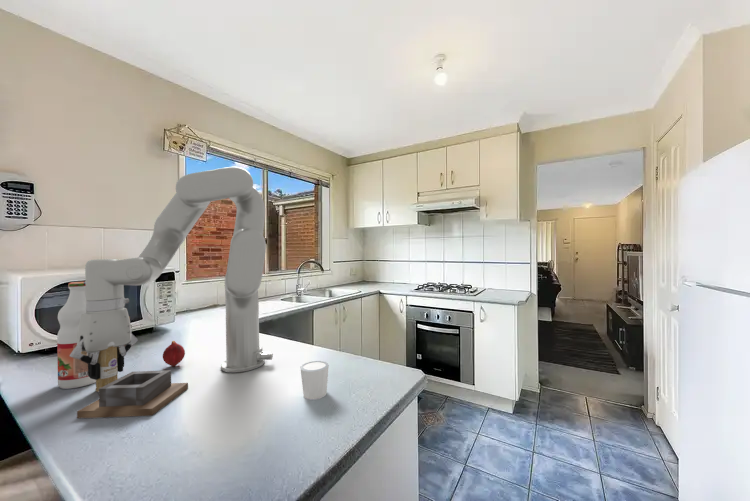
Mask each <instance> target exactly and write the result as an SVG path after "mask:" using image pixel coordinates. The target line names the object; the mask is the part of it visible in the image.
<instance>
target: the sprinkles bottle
mask: <svg viewBox="0 0 750 501" xmlns="http://www.w3.org/2000/svg"><path fill="white" fill-rule="evenodd" d="M112 345H115V344H114V342H110V343H109V344H108V346H111V347H108V349H105V350H103V351H100V352H99V356H98V360H97V363H99V364H100V378H99V379H97V380H96V382H95V392H97V393H99V388H101V387H103V386H105V385H107V384H109V383H111V382H113V381H115V380H117V379H119V377H118V374H119V372H118V362H117V347H113V346H112Z"/></svg>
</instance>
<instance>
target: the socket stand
mask: <svg viewBox="0 0 750 501" xmlns="http://www.w3.org/2000/svg"><path fill="white" fill-rule="evenodd" d="M188 389H189V382H172V370H170V369H169V370H167V369H166V370H142V371H140V370H138V371H131V372H129V373H126V374H125V375H123V376H121V377H118V379H117V380H115V381H113V382H111V383H109V384H107V385H105V386H103V387H101V388H99V392H98V399H97V400H95V401H94V402H93V401H92V402H91V403H90V404H88V405H86V406H84V407H82V408H81V409H79V410H77V411H76V418H77V419H87V418H88V419H90V418H91V419H93V418H96V419H97V418H120V417H121V418H122V417H124V418H125V417H146V416H147V417H149V416H151V417H152V416H154V415H155V414H156V413H158V412H159V411H161V409H163V408H164V407H166V406H167V405H168V404H170V403H171V402H172V401H174V400H175V399H176V398H178V397H179V396H180V395H182V394H183V393H184V392H186V391H187V390H188Z"/></svg>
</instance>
